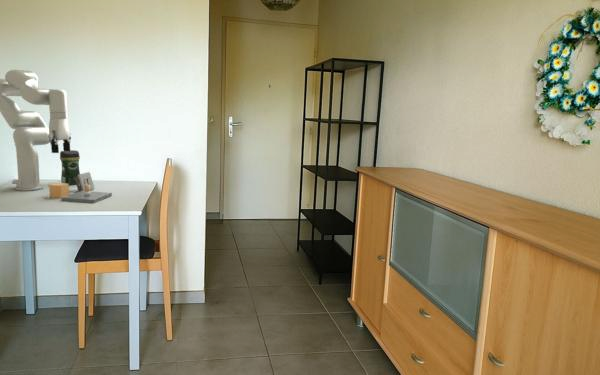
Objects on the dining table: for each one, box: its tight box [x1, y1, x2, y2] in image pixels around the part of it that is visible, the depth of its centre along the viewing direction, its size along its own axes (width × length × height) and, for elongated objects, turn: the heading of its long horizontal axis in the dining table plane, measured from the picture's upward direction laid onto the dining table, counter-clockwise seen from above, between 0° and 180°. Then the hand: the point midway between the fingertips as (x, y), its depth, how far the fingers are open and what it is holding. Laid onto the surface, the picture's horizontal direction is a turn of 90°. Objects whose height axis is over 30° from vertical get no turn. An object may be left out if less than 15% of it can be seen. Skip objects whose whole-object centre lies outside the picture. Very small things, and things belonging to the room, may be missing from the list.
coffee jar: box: [59, 149, 81, 186], centre depth 257 cm, size 10×8×19 cm
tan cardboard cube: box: [48, 182, 70, 199], centre depth 227 cm, size 6×6×6 cm
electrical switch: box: [74, 171, 95, 192], centre depth 243 cm, size 9×5×9 cm, turn 171°
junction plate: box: [60, 185, 113, 204], centre depth 226 cm, size 16×17×6 cm
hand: (61, 151), depth 225 cm, fingers open, 9 cm apart
